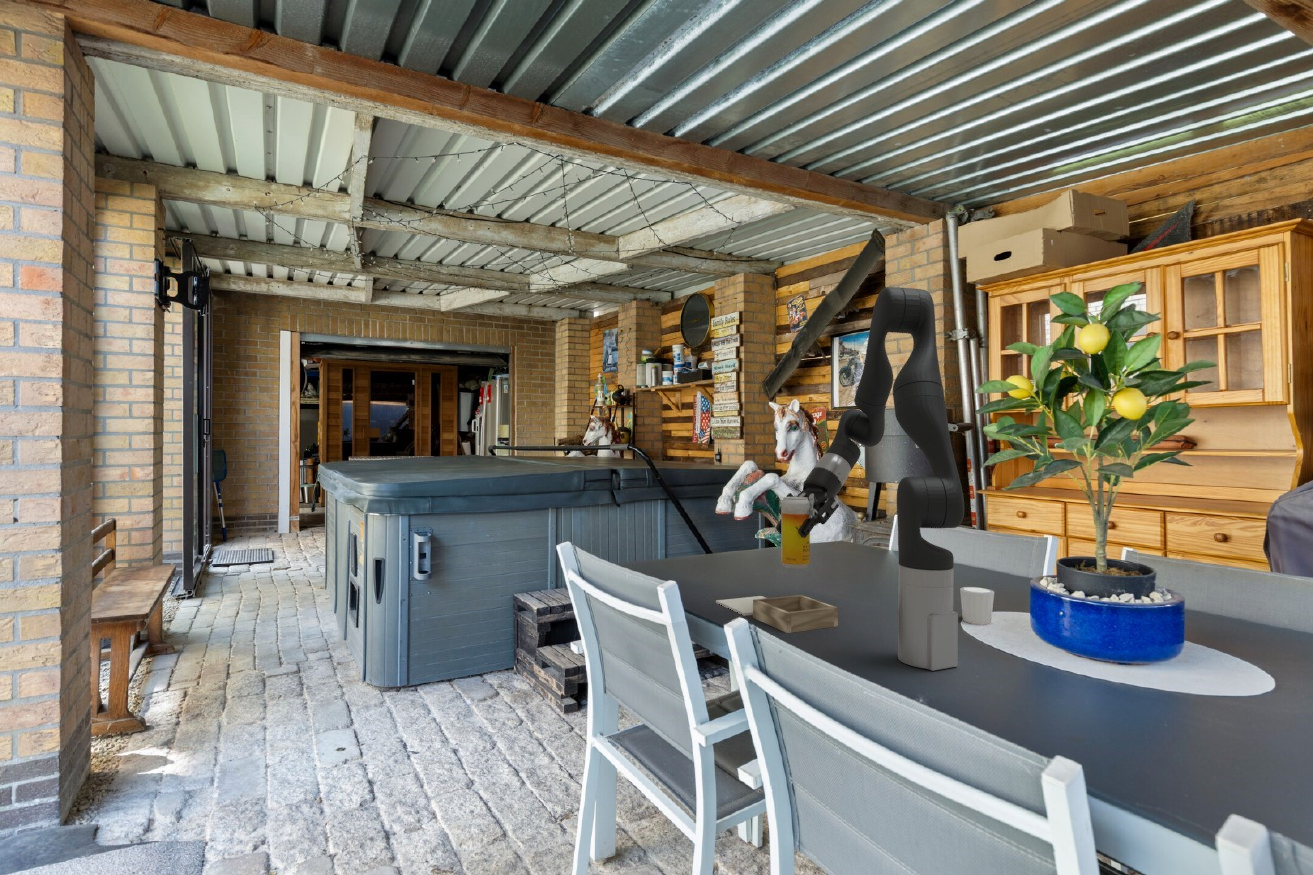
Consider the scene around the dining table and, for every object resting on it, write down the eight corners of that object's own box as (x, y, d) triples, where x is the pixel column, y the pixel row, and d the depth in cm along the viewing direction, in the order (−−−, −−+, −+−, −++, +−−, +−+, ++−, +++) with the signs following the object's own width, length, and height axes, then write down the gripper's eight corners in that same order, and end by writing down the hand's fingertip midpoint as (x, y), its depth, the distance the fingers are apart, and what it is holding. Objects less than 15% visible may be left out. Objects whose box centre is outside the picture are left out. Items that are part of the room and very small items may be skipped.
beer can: (809, 569, 144) (810, 499, 144) (780, 568, 145) (781, 498, 145) (809, 564, 150) (809, 496, 150) (781, 563, 151) (781, 496, 151)
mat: (792, 610, 157) (792, 607, 157) (744, 615, 152) (744, 613, 152) (761, 598, 169) (761, 595, 169) (715, 602, 164) (715, 600, 164)
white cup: (987, 617, 153) (987, 586, 153) (999, 626, 146) (999, 593, 146) (955, 616, 153) (955, 585, 153) (966, 624, 146) (966, 592, 146)
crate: (837, 626, 144) (837, 607, 144) (787, 633, 139) (787, 613, 139) (800, 611, 156) (800, 594, 156) (752, 617, 151) (753, 599, 151)
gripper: (795, 465, 158) (758, 518, 151) (844, 467, 146) (806, 525, 139) (811, 487, 161) (775, 540, 154) (860, 490, 149) (823, 549, 142)
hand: (790, 533), depth 147 cm, fingers closed on beer can, 6 cm apart
